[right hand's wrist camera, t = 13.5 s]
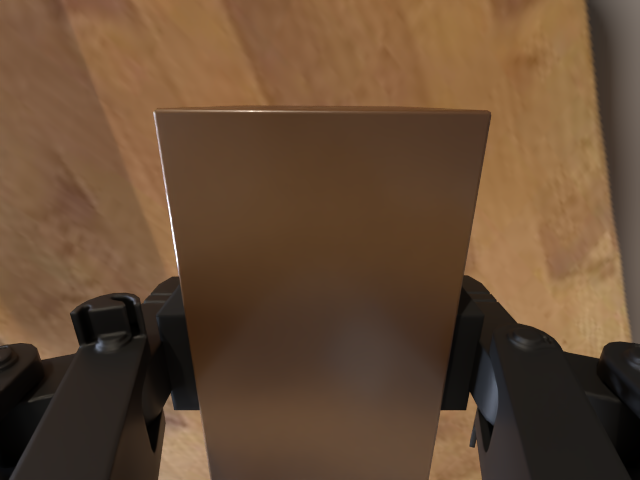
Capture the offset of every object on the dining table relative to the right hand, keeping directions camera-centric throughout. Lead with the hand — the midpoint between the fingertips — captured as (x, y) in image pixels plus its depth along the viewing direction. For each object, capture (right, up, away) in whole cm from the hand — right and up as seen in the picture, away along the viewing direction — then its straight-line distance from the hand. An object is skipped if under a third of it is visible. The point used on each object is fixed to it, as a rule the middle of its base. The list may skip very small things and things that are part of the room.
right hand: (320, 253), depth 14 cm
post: (0, -21, +8) cm, 22 cm away
